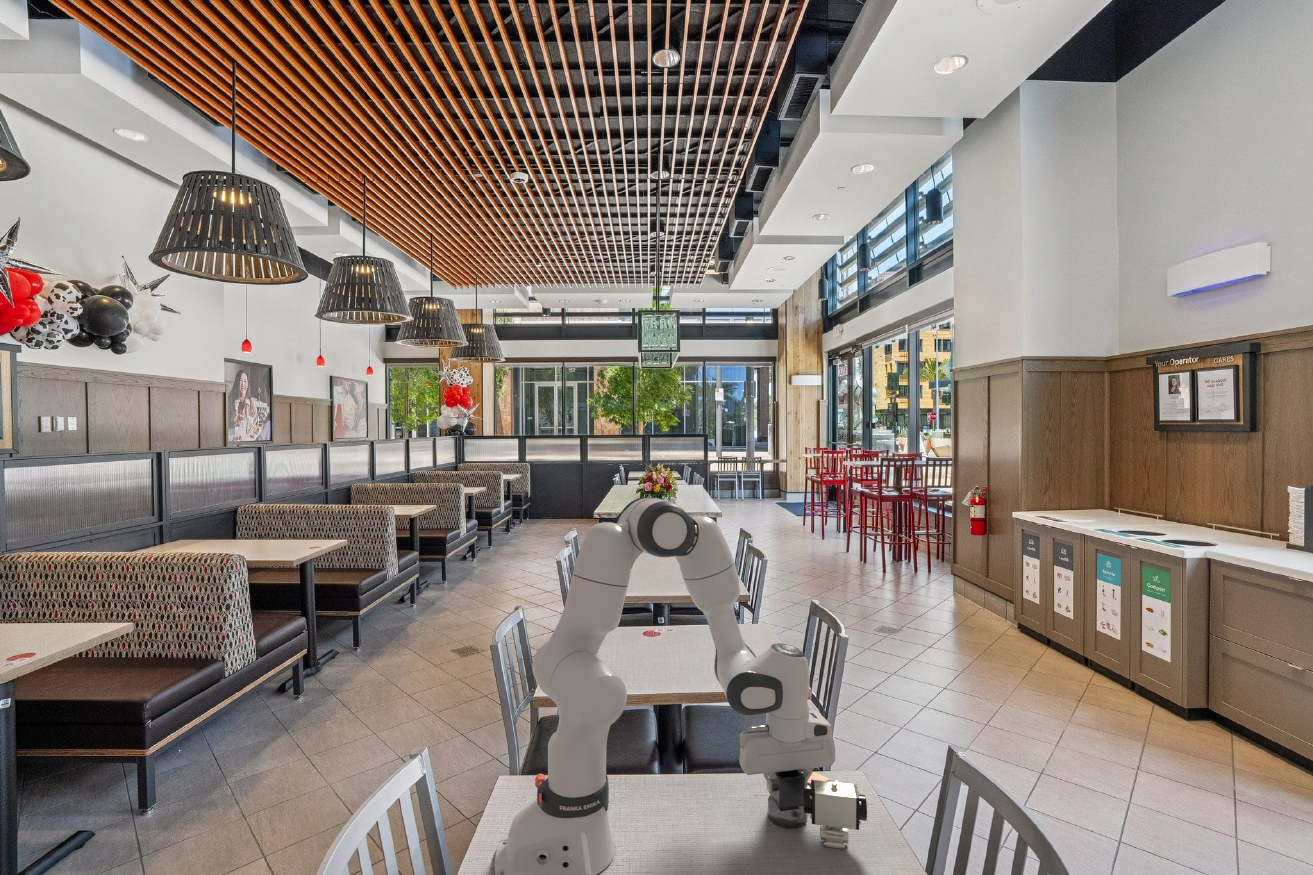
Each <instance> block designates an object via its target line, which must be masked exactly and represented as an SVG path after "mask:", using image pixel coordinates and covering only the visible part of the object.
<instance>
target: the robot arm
mask: <svg viewBox="0 0 1313 875" xmlns="http://www.w3.org/2000/svg"><path fill="white" fill-rule="evenodd" d="M643 553H644V554H648V555H652V556H654V557H656V558H657V557H658V558H671V557H674V558H675V560H676V561H677V563H678V564H679V569H680V572H681V576H682V577H683V581H684V585H685V586H686V590H687V592H688V593H689V596H690V597H691V600H692V601H693V603H694V605H695V607H696V608H697V609H698V610H700V611H701V612H702V613H703V615H704V616H705V618H706V620H707V624H708V627H709V631H710V634H711V637H712V640H713V644H714V646H715V647H714V648H715V658H714V663H713V664H714V668H713V669H714V670H713V671H714V674H715V677H716V680H717V681H718V683H719V684H720V686H721V689H722V690H723V693H724V696H725V697H726V700H727V703H728V705H729V706H730V707H731V709H732V710H734V712H736V713H738V714H740V715H742V716H756V715H757V716H758V715H763V714H766V716H765V717H766V718H765V719H766V721H765V722H766V724H763V725H757V726H748V727H746V729H744V730H742V731H741V733H740V735H739V746H740V750H739V759H738V760H739V761H738V762H739V766H740V767H741V769H742V770H741V771H743V772H744V773H745V774H746V775H747V776H751V775H753V776H754V775H761V774H762V776H763V777H764V779H765V780H766V781H765V782H766V790H767V791H768V793H769V792H775V791H776V783H775V782H774V780H773V779H769V777H771V773H772V772H781V771H790V770H802V774H803V775H804V776H805V788H807V786H808V780H809V778H810V776H811V775H812V773H813V772H814V771H813V770H814V769H817V768H824V767H826V768H827V767H832V766H833V765H834V763H835V762H836V744H835V739H834V737H833V735H832V734H833V733H832V732H833V726H832V725H831V723H830V722H829V721H828V720H827V719H826V718H825V717H824V716H823V715H822V713H819V712H818V711H815V710H811V709H810V708H809V707H810V706H809V703H808V701H809V700H808V699H809V695H810V691H811V690H810V688H811V687H810V685H811V684H810V683H811V682H810V669H809V661H808V659H807V658H808V657H807V656H806V655H805V653H804V652H803V651H802V650H800V649H799V648H797V647H795V646H793V645H790V644H786V643H780V642H779V643H774V644H771V645H770V647H769V648H768V649H767V650H765V651H764V652H763V653H761V654H760V655H758V656H756V654H755V652H754V651H753V650H752V648H750V647H749V646H748V645H747V644H746V643H745V641H744V638H743V637H742V633H741V630H740V626H739V622H738V620H737V617H736V613H735V608H734V607H735V606H734V605H735V603H736V602H737V601H738V598H739V596H740V594H741V588H740V581H739V574H738V570H737V567H736V563H735V560H734V558H733V555H732V552H731V549H730V547H729V544H728V542H727V540H726V537H725V536H724V534H723V532H722V530H721V528H720V527H719V525H718V523H717V522H716V521H715V519H713V518H711V517H708V516H703V515H698V516H696V515H695V516H691V515H690V514H688V512H686V511H685V510H684V509H683V507H681V506H679V505H678V504H676V503H674V502H671V501H667V500H665V499H662V498H658V497H639V498H635V499H634V500H632V501H630V502H629V503H628V504H627V505H626V506H625V507H624V508H623V509H622V510H621V512H620V513H619V514H618V515H617V516H616V517H615V518H614V519H613V521H612V522H610V521H609V522H608V521H606V522H599V523H596V524H594V525H592V526H591V527H589V529H588V530H587V533H586V534H585V537H584V539H583V542H582V544H581V545H580V549H579V552H578V554H577V557H576V561H575V565H574V567H573V571H572V576H571V579H570V584H569V588H568V591H567V594H566V595H567V596H566V600H565V603H564V608H563V610H562V613H561V616H560V618H559V621H558V622H557V625H556V626H555V629H554V630H553V633H552V635H551V636H550V638H549V639H548V640H547V641H546V642H544V643H543V644H542V645H541V646H540V647H539V648H538V649H537V651H536V652H535V655H534V657H533V659H532V666H531V669H532V674H533V676H534V678H535V681H536V683H537V685H538V687H539V689H540V690H541V691H542V692H543V693H544V694H545V695H546V696H547V697H548V698H549V699H550V700H552V701H553V702H554V703H555V705H556V707H557V711H558V716H559V718H558V724H557V729H556V731H555V732H553V733H552V735H551V736H550V738H549V740H548V742H547V778H546V775H545V774H543V773H538V774H536V776H535V779H534V781H535V783H534V786H535V788H537V790H536V799H535V800H534V801H532V802H531V803H529V805H527V806H526V807H525V808H524V809H521V811H519V812H518V813H517V814H516V815H515V816H514V818H513V820H512V823H511V824H510V828H509V832H508V833H507V834H506V835H505V836H504V837H503V838H502V839H501V841H499V843H498V846H497V848H496V851H495V855H494V857H495V858H494V867H493V868H494V875H598V874H600V873H601V872H603V871H604V870H605V869H606V868H607V867H608V866H609V865H610V863H612V861H613V859H614V856H615V851H616V850H615V849H616V848H615V843H614V841H613V837H612V833H611V827H610V823H609V814H608V810H609V804H610V782H609V779H608V778H609V777H608V774H607V742H608V735H609V732H610V729H611V725H613V724H614V723H616V722H617V720H618V719H619V718H620V717H621V715H622V714H623V712H624V710H625V708H626V705H627V699H628V693H627V687H626V685H625V683H624V681H623V679H622V678H621V676H620V675H619V674H618V673H617V672H616V670H615V669H614V668H613V667H612V666H611V665H610V664H608V663H607V662H605V661H604V660H602V659H601V658H599V651H600V648H601V646H602V644H603V643H604V640H605V639H606V637H607V636H608V634H609V633H611V632H613V631H615V629H617V628H618V626H619V624H620V621H621V618H622V613H623V609H624V605H625V604H624V603H625V600H626V596H627V591H628V587H629V582H630V579H631V573H632V572H631V571H632V569H633V566H634V564H635V562H636V560H637V559H638V558H639V557H640V556H641V555H643Z"/></svg>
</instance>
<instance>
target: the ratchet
mask: <svg viewBox="0 0 1313 875" xmlns="http://www.w3.org/2000/svg"><path fill="white" fill-rule="evenodd" d="M811 779H812V780H821V781H828V780H830V778H828V777H826V776H823V775H821V774H819V773H816V772H814V771H813V773H812V775H811V776H810V778H809V780H808V786H807V788H810V787H809V784H811ZM810 789H811V788H810ZM767 816H768V818H769V820H770V821H771V822H772V823H773V824H774V825H776V826H778V827H779V828H784V829H788V830H789V829H790V830H792V829H794V830H795V829H796V830H797V829H799V828H802V827H804V825H806V823H807V821H808V814H807V813H804V806H800V807H792V808H783V809H779V808H778V806H777V805H776V803H775V801H774V800H773V798H772V796H771V795H768V798H767Z"/></svg>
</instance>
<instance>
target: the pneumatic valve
mask: <svg viewBox="0 0 1313 875" xmlns="http://www.w3.org/2000/svg"><path fill="white" fill-rule="evenodd" d="M809 787H810V788H811V789H810V788H804V790H803V803H804V813H807V815H809V819H811V825H816V826H820V827H819V834H820V835H819V837H820V838H819V839H820V840H821V841H824V842H823V845H824V846H826V848H835V849H841V850H844V849H845V848H846V844H849V841H850V840H849V838H850V837H849V830H856V831H860V825H862V821H864V822H866V821H867V820H868V804H867V798H866V794H862V793H861V794H860V790H859V789H858V784H855V783H846V782H839V780H835V781H832V780H831V779H829V780H828V781H821V780H812V779H811V784H809Z"/></svg>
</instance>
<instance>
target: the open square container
mask: <svg viewBox="0 0 1313 875" xmlns="http://www.w3.org/2000/svg"><path fill="white" fill-rule="evenodd" d="M802 773H803V771H801V769H799V770H790V771H781V772H772V773H771V777H769V779H773V780H774V782H775V783H776V791H775V792H769V791H768V793H769V794H770V795H771V796H772V798H773V800H774V801H775V803H776V805H777V806H778V808H779V809H783V808H792V807H800V806H804V803H803V790H804V788H805V776H804V775H803V774H802ZM770 795H769V796H770Z"/></svg>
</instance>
